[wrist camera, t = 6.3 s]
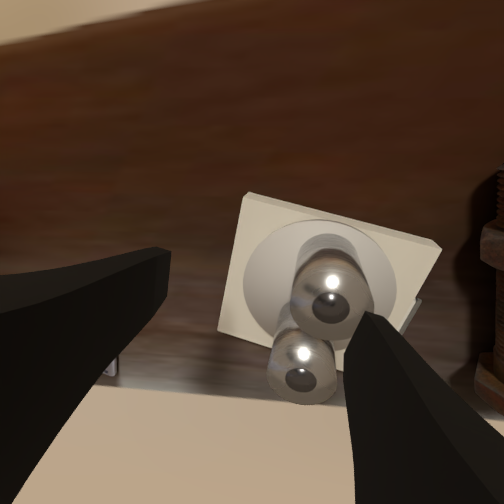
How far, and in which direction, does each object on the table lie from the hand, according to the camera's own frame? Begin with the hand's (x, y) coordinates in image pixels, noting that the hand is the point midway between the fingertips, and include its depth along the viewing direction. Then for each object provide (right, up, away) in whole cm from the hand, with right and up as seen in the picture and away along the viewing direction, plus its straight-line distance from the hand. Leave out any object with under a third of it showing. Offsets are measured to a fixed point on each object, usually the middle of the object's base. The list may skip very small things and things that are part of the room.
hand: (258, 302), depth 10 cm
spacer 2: (+3, -3, +9) cm, 10 cm away
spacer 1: (+4, +1, +7) cm, 8 cm away
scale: (+4, -1, +10) cm, 11 cm away
